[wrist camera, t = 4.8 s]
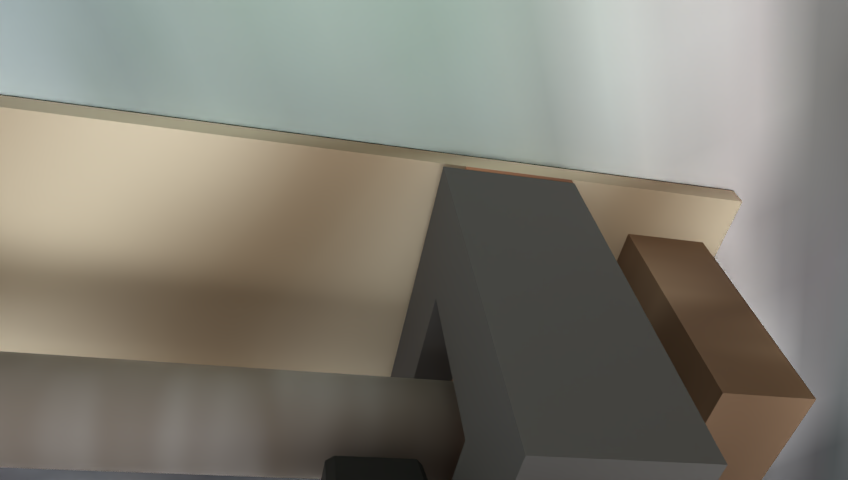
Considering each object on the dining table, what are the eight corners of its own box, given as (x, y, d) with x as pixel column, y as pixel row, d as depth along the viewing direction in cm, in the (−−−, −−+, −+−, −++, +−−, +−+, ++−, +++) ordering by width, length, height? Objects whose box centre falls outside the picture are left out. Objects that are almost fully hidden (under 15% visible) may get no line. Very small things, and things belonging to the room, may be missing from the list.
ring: (574, 183, 14) (727, 465, 9) (487, 423, 17) (561, 727, 12) (443, 166, 13) (525, 455, 8) (380, 417, 17) (410, 732, 12)
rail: (732, 190, 15) (878, 359, 11) (626, 406, 18) (710, 594, 14) (-283, 57, 11) (-586, 241, 8) (-192, 355, 15) (-372, 589, 11)
